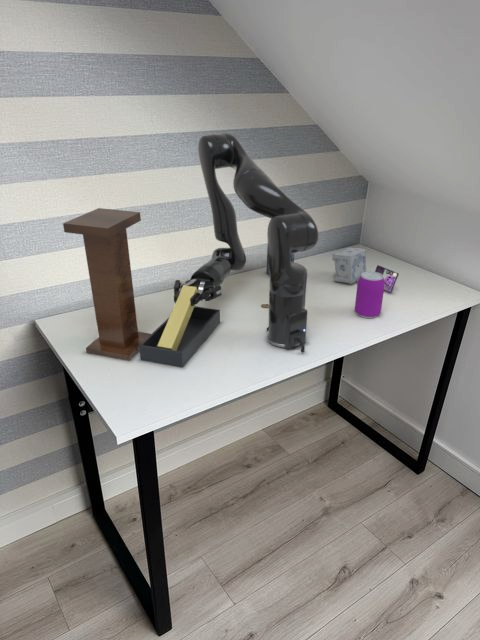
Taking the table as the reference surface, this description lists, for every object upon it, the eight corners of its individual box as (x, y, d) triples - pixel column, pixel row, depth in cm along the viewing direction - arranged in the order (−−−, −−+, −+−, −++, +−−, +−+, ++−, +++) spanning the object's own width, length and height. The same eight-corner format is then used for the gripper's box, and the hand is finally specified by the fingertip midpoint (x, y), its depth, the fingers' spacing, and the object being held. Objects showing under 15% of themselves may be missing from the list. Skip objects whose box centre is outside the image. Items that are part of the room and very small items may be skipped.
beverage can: (377, 321, 146) (382, 282, 141) (351, 316, 149) (355, 277, 143) (383, 311, 153) (388, 273, 147) (357, 306, 155) (362, 268, 149)
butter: (186, 292, 136) (183, 285, 134) (199, 294, 136) (196, 287, 133) (160, 352, 127) (157, 346, 125) (174, 355, 127) (171, 348, 124)
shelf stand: (114, 330, 139) (96, 207, 122) (154, 337, 136) (142, 212, 120) (84, 354, 127) (60, 223, 111) (127, 362, 124) (109, 228, 108)
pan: (183, 317, 146) (182, 304, 144) (220, 323, 144) (219, 309, 142) (140, 360, 125) (138, 345, 123) (182, 367, 123) (181, 352, 121)
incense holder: (345, 273, 180) (348, 244, 174) (366, 279, 175) (369, 249, 170) (329, 280, 173) (332, 250, 168) (350, 287, 168) (354, 256, 163)
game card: (376, 264, 168) (396, 273, 162) (385, 266, 171) (406, 275, 165) (368, 284, 170) (389, 293, 164) (378, 285, 173) (398, 294, 167)
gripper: (185, 262, 145) (157, 284, 131) (232, 268, 142) (209, 291, 128) (186, 286, 149) (159, 310, 135) (232, 293, 146) (210, 318, 131)
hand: (183, 301), depth 131 cm, fingers closed on butter, 3 cm apart
